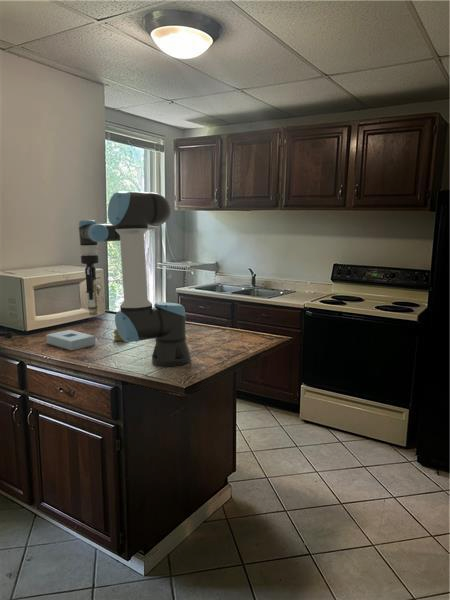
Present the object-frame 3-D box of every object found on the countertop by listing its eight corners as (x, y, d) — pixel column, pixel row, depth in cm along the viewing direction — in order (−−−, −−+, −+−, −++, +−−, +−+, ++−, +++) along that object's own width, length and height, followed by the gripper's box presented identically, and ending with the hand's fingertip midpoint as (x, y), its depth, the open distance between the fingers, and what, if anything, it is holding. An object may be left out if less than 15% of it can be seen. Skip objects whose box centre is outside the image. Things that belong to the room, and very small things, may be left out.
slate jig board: (95, 344, 200) (94, 335, 200) (71, 350, 191) (71, 341, 190) (70, 337, 213) (69, 329, 212) (46, 343, 204) (46, 334, 203)
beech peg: (95, 315, 202) (93, 280, 200) (86, 315, 203) (84, 280, 201) (99, 313, 206) (97, 279, 204) (91, 313, 207) (89, 279, 205)
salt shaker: (118, 337, 212) (117, 317, 211) (132, 338, 211) (131, 317, 209) (111, 341, 205) (110, 320, 204) (126, 342, 204) (125, 321, 202)
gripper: (94, 255, 192) (98, 308, 196) (100, 253, 209) (103, 302, 213) (77, 255, 192) (80, 309, 195) (84, 254, 208) (87, 303, 212)
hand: (92, 305), depth 204 cm, fingers closed on beech peg, 4 cm apart
